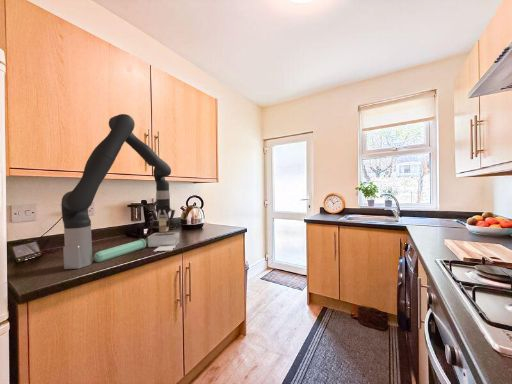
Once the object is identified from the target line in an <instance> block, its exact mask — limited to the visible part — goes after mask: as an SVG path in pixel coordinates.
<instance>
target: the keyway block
mask: <svg viewBox="0 0 512 384" xmlns="http://www.w3.org/2000/svg"><path fill="white" fill-rule="evenodd" d="M179 243H180V231H179V232H177V231H176V232H154V233H152V234H150V235H149V236H147V248H158V247H159V246H176V245H178V244H179Z"/></svg>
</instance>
